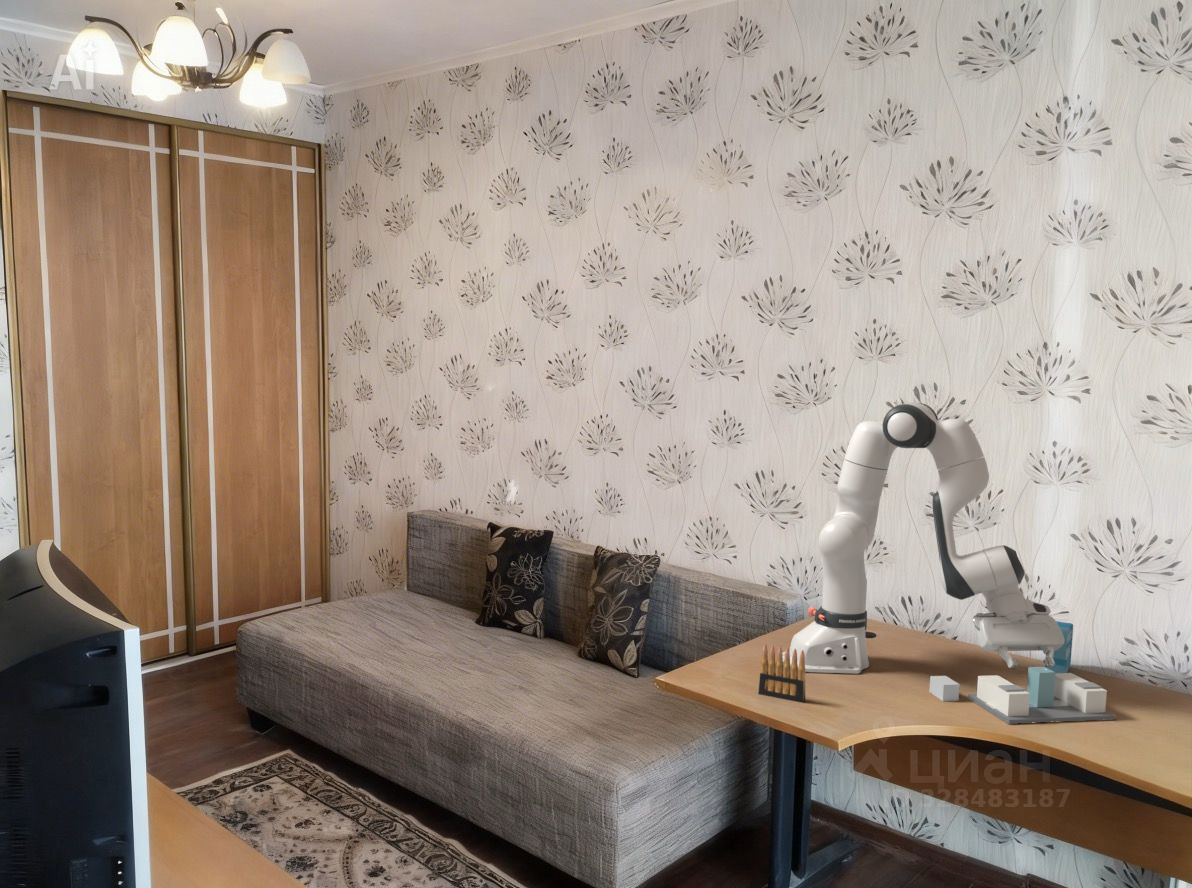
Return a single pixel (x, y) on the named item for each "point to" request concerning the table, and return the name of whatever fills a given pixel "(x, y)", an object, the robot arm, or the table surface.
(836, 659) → the robot arm
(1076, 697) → the block
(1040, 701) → the block
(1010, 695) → the block
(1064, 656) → the data package
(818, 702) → the table surface
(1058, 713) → the rail board
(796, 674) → the ammunition clip
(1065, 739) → the table surface
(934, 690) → the block
